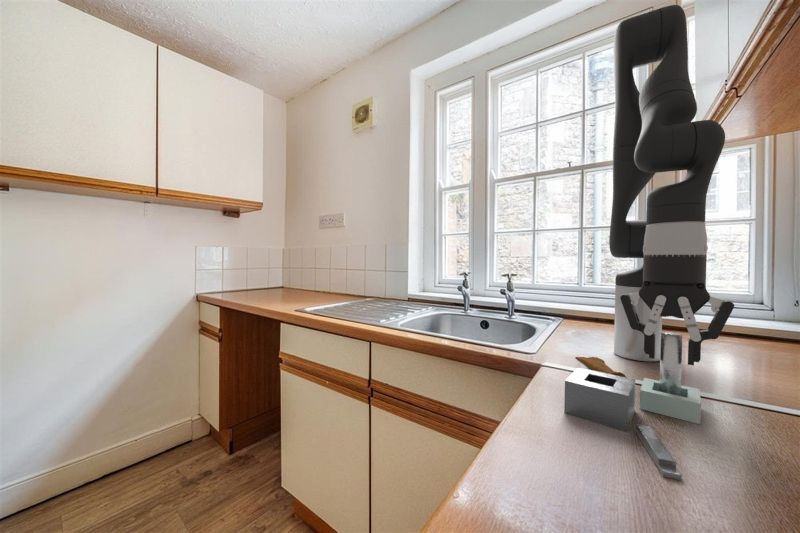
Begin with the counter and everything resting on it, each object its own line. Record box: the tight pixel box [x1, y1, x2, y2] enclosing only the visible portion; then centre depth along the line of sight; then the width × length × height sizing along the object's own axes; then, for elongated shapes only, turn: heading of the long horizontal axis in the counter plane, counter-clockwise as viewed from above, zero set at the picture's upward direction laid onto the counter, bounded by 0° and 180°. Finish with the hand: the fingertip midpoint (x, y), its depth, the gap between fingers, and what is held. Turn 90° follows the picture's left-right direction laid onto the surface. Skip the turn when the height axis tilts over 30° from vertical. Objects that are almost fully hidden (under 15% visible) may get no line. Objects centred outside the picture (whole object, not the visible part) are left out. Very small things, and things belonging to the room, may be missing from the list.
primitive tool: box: [574, 356, 628, 378], centre depth 66 cm, size 19×6×4 cm, turn 167°
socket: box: [563, 367, 636, 432], centre depth 49 cm, size 8×8×5 cm
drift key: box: [635, 423, 683, 481], centre depth 38 cm, size 9×2×1 cm, turn 158°
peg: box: [659, 331, 683, 396], centre depth 50 cm, size 3×3×12 cm
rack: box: [639, 377, 702, 425], centre depth 50 cm, size 7×7×3 cm
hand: (670, 360), depth 50 cm, fingers open, 4 cm apart
